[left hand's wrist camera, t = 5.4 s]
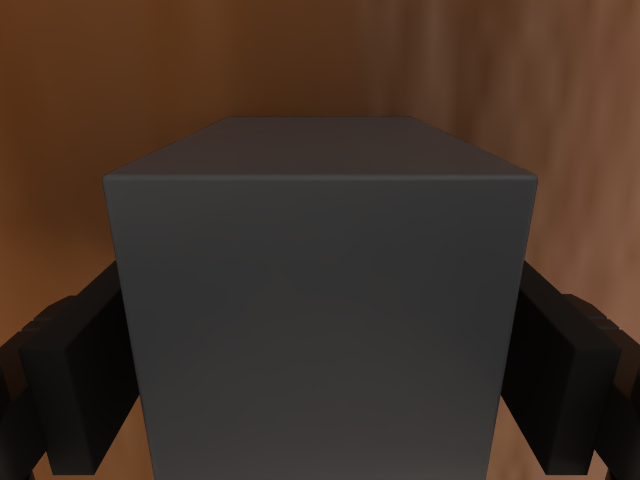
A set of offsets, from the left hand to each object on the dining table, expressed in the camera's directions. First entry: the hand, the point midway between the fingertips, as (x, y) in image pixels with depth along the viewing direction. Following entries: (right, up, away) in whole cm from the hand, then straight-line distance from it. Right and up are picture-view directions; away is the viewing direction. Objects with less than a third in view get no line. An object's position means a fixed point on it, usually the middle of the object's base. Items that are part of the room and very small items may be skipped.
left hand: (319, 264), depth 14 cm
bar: (0, -9, +5) cm, 10 cm away
